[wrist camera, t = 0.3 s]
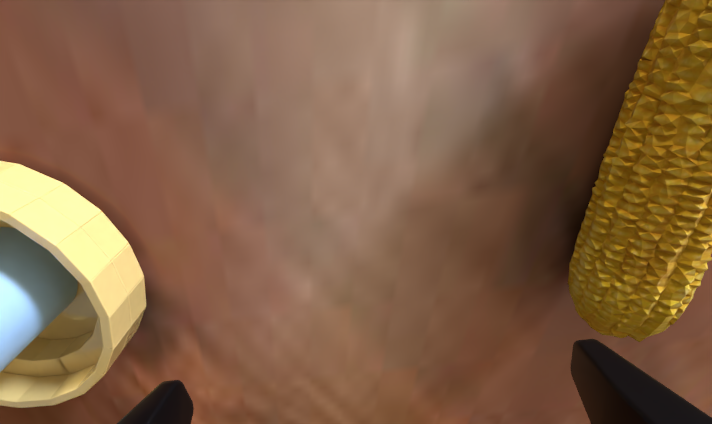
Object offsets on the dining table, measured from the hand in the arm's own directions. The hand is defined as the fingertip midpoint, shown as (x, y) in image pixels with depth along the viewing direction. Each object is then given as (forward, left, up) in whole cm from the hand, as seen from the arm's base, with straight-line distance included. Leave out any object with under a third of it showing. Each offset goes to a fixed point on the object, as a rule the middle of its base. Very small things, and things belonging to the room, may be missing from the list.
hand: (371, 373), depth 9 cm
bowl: (-4, +22, -15) cm, 27 cm away
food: (0, -15, -15) cm, 21 cm away
